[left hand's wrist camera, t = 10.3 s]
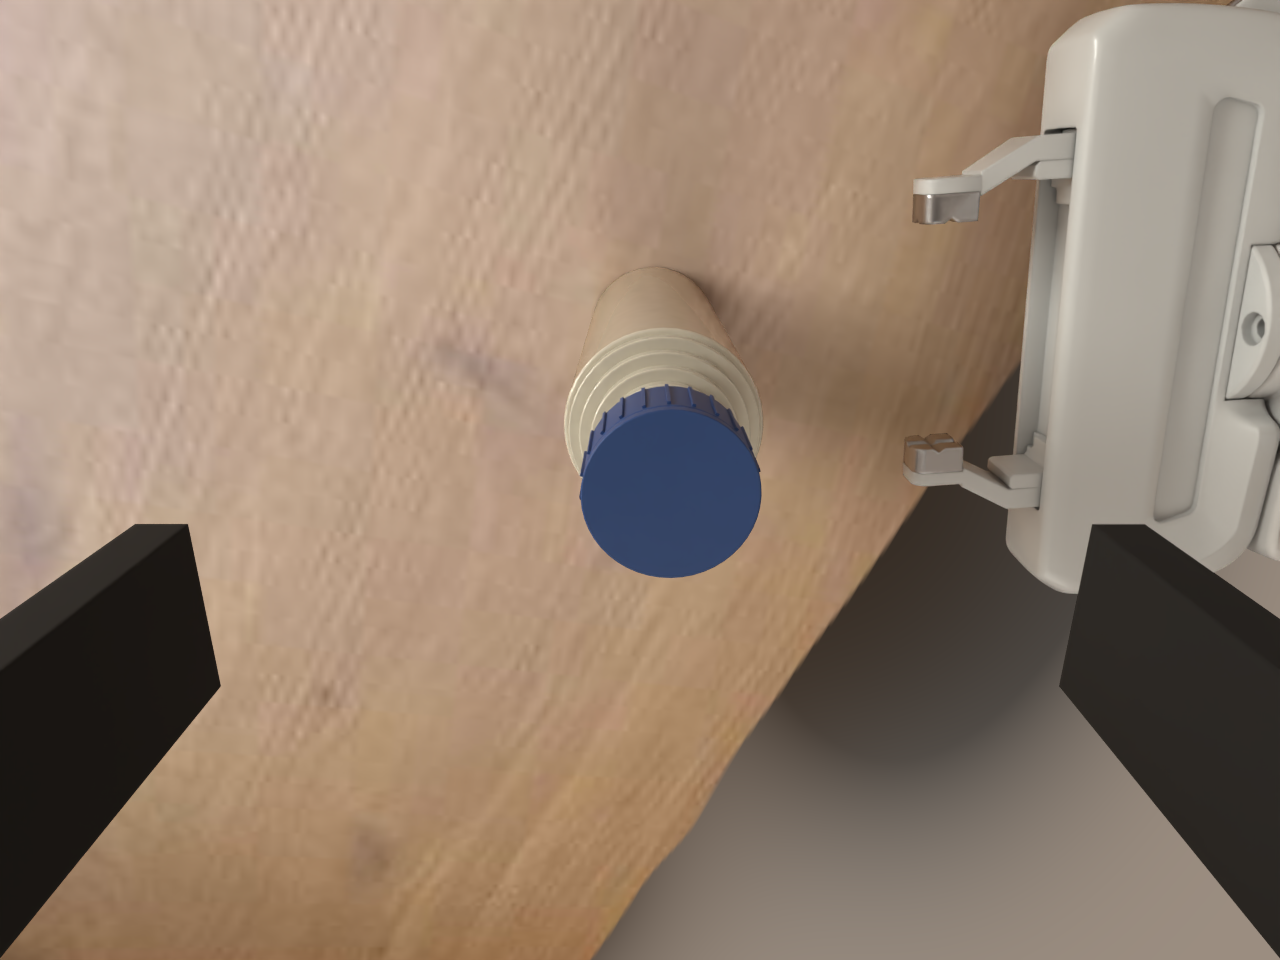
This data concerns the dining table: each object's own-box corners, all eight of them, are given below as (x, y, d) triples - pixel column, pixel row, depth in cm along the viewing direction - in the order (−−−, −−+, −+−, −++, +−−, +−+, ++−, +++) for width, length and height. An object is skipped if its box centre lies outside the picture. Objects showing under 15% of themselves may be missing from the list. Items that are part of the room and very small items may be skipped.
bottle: (685, 408, 38) (732, 632, 19) (573, 364, 37) (511, 553, 19) (735, 295, 36) (837, 424, 18) (618, 247, 35) (599, 328, 17)
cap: (710, 563, 21) (718, 604, 19) (559, 508, 20) (551, 544, 18) (779, 420, 20) (795, 448, 18) (620, 356, 19) (618, 379, 17)
